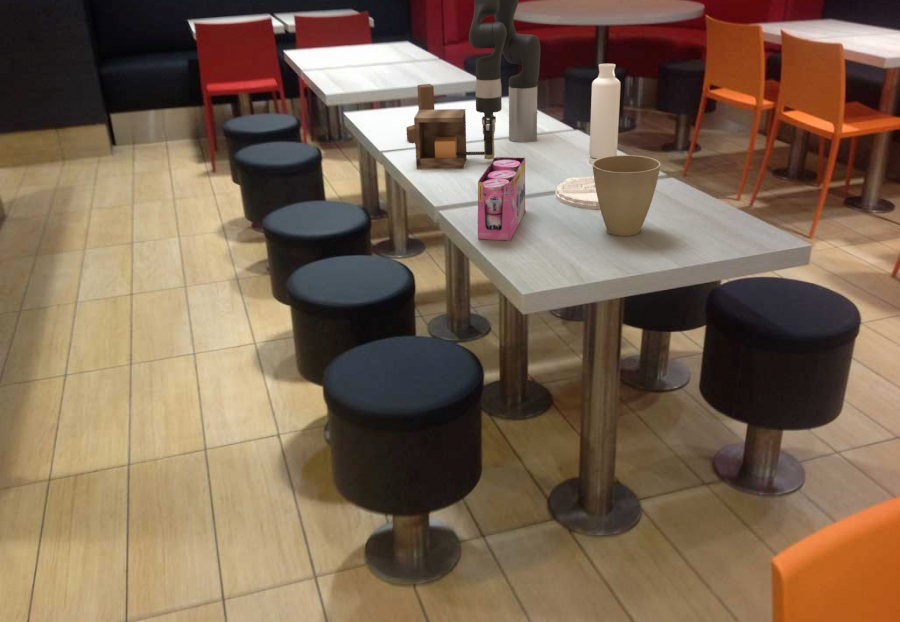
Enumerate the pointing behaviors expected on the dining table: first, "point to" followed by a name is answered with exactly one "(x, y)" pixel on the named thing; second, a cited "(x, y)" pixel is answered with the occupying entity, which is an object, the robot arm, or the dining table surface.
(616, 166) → the plant pot
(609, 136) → the bottle
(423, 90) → the wooden block
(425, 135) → the box
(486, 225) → the gum box
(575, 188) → the medallion
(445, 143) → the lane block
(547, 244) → the dining table surface
